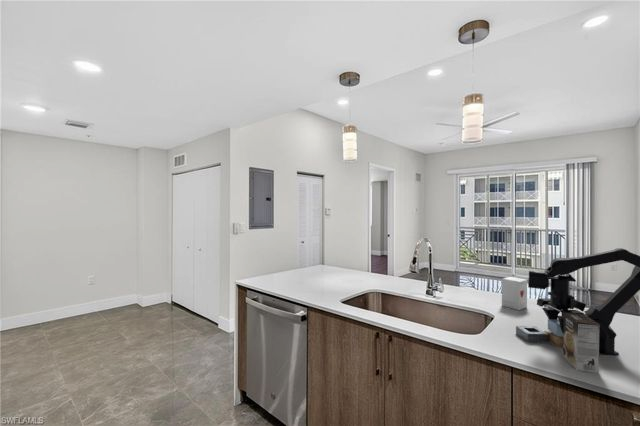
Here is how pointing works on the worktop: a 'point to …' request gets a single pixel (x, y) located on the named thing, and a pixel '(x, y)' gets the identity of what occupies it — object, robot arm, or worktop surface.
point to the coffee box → (581, 342)
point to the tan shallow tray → (555, 339)
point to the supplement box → (514, 293)
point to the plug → (555, 327)
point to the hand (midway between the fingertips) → (559, 330)
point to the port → (532, 334)
